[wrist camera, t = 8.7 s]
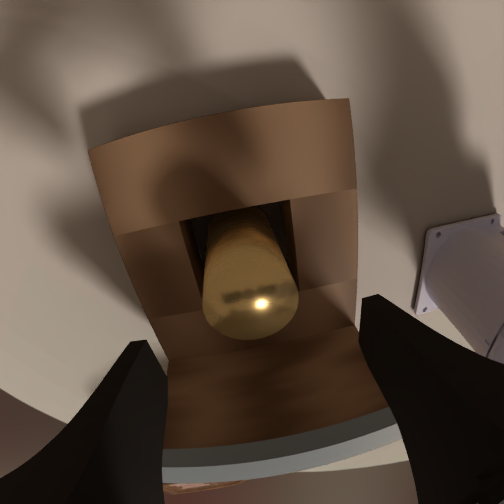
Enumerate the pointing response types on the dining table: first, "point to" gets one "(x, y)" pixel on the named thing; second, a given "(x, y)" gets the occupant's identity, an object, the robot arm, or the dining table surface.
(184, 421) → the socket block
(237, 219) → the peg
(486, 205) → the dining table surface
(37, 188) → the dining table surface
